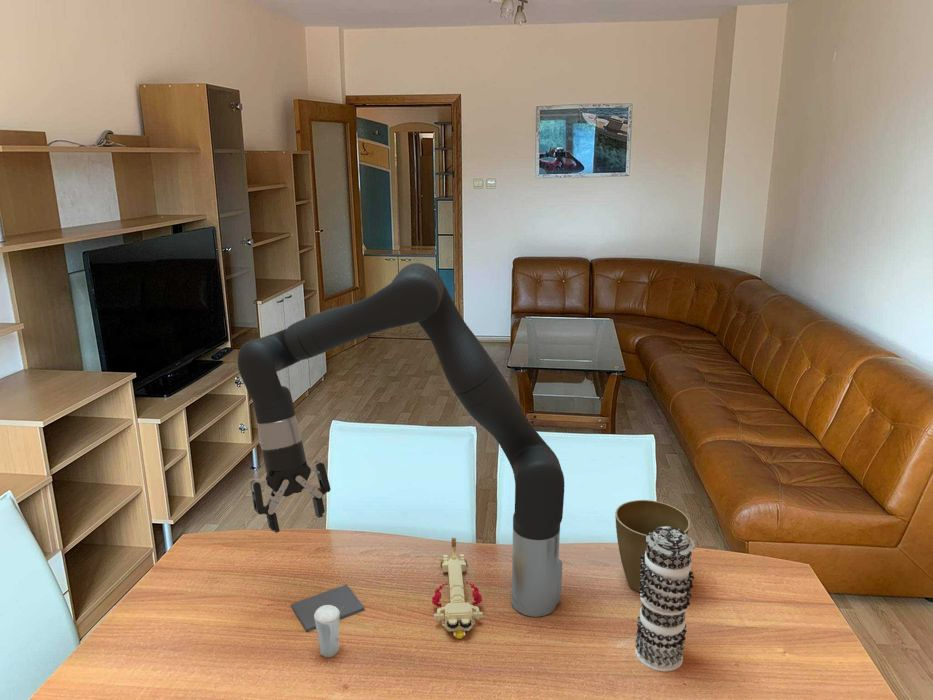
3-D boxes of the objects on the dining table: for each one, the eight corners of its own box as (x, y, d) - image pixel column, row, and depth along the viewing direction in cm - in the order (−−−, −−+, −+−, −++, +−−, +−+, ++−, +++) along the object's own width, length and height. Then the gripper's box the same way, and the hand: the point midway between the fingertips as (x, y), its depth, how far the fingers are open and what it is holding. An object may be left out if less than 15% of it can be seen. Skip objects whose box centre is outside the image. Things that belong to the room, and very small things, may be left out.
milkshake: (343, 660, 122) (340, 613, 120) (314, 660, 122) (310, 613, 120) (348, 643, 127) (345, 597, 124) (319, 642, 127) (316, 596, 124)
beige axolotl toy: (431, 571, 151) (433, 641, 126) (430, 535, 149) (432, 599, 124) (476, 569, 151) (486, 639, 127) (475, 533, 149) (486, 596, 125)
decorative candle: (628, 636, 128) (637, 519, 121) (677, 637, 128) (689, 520, 121) (638, 672, 120) (649, 548, 113) (691, 673, 119) (705, 549, 112)
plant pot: (646, 615, 134) (652, 544, 130) (596, 576, 147) (600, 510, 142) (698, 591, 142) (706, 523, 137) (646, 556, 154) (652, 492, 149)
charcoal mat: (346, 586, 143) (346, 584, 143) (364, 610, 136) (364, 607, 136) (291, 606, 137) (291, 603, 137) (306, 632, 130) (306, 629, 129)
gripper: (248, 455, 121) (267, 541, 123) (323, 434, 128) (340, 515, 130) (238, 450, 127) (256, 532, 129) (310, 429, 134) (326, 507, 136)
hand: (298, 523), depth 129 cm, fingers open, 8 cm apart
